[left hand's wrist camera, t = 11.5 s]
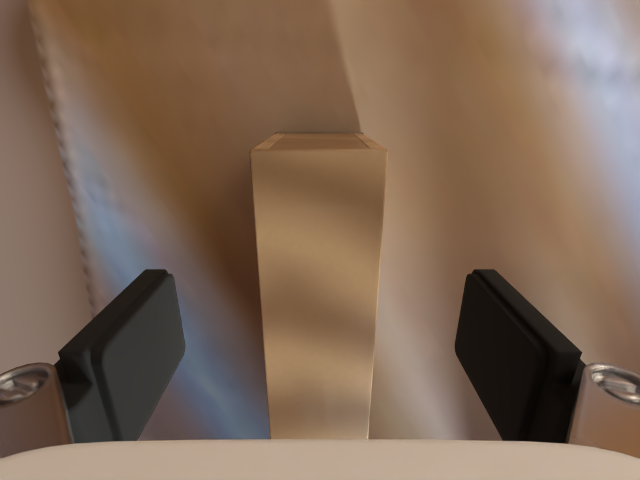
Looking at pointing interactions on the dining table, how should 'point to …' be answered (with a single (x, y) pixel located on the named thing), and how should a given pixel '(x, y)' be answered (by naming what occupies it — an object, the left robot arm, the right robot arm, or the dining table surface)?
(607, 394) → the left robot arm
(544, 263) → the dining table surface
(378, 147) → the wooden crate box
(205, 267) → the dining table surface
